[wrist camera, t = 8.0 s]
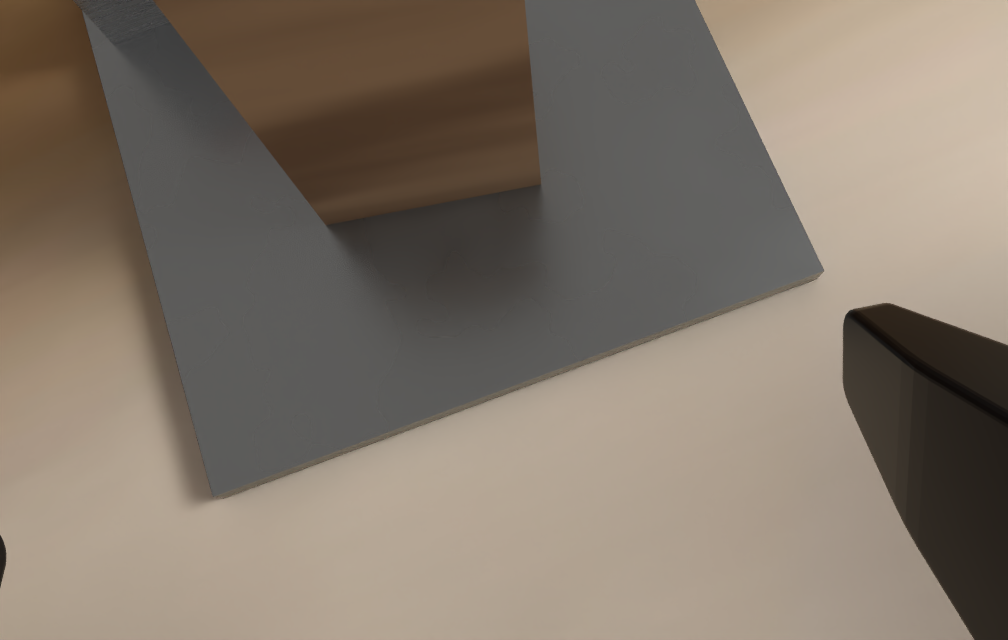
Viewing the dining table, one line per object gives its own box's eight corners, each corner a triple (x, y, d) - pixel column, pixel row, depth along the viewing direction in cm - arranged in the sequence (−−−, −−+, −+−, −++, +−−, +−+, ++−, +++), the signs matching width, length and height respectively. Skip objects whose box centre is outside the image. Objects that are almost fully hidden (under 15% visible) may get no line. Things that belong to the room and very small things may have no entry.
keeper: (817, 278, 20) (945, 136, 13) (223, 498, 20) (36, 471, 13) (588, -201, 24) (595, -511, 17) (82, -19, 24) (-124, -256, 17)
